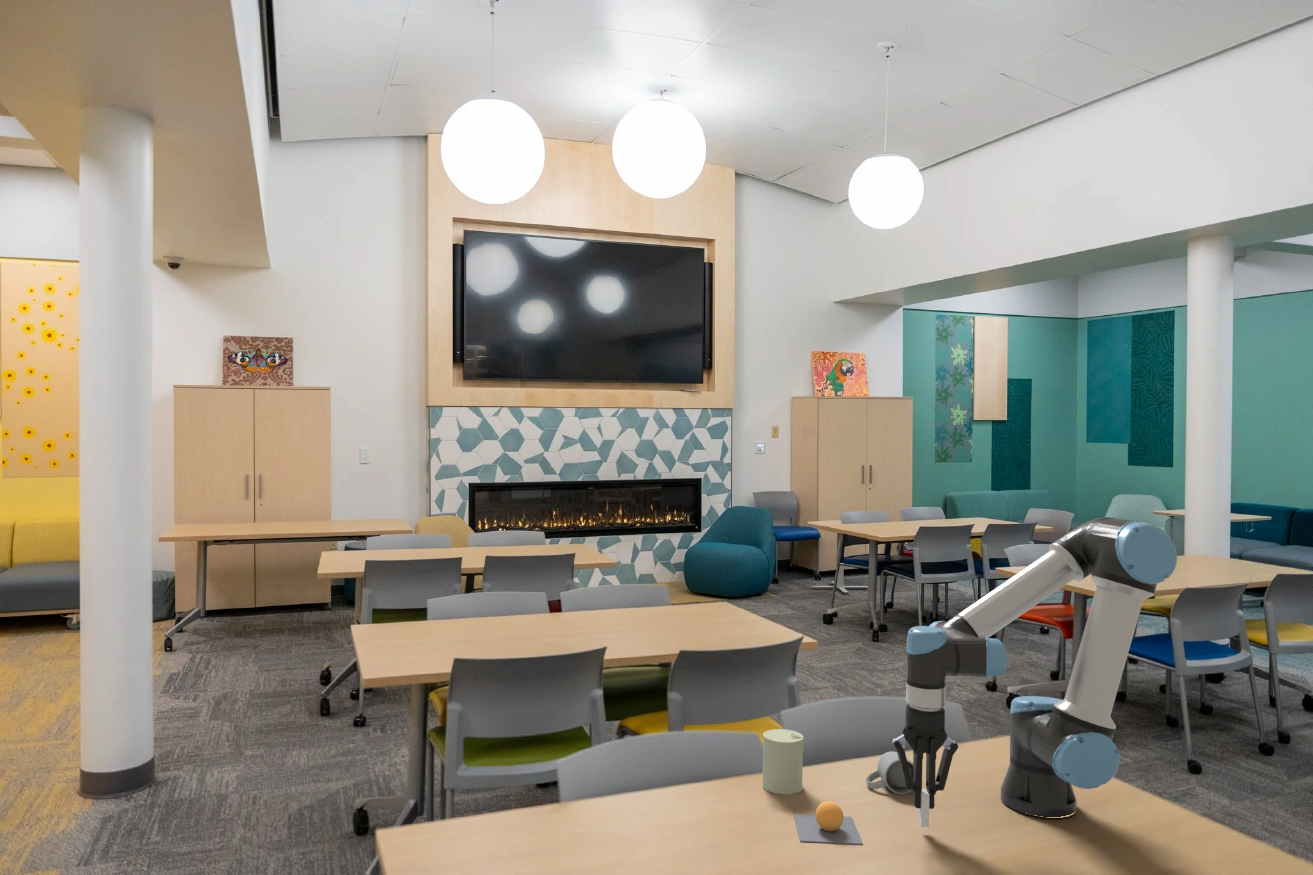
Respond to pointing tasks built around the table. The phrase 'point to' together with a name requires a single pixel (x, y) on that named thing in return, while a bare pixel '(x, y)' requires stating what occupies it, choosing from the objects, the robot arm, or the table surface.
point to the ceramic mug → (890, 774)
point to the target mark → (815, 833)
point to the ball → (829, 816)
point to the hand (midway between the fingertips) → (923, 823)
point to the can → (782, 761)
